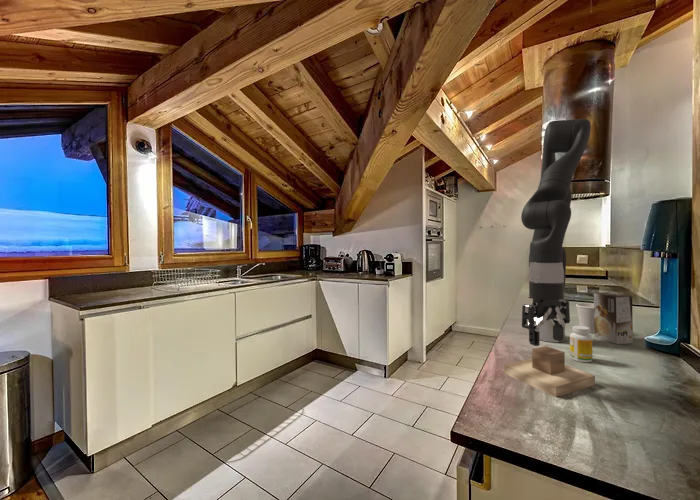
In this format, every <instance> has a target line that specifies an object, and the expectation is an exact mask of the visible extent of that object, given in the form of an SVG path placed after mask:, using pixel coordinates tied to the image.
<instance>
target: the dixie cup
mask: <svg viewBox="0 0 700 500" xmlns="http://www.w3.org/2000/svg"><path fill="white" fill-rule="evenodd" d="M575 306H576V311H577V317H578V323H579V325H578V326H585V327H588V328H589V329H590V332H589V334H595V333H594V303H589V302H588V303H587V302H580V303H579V302H578V303H576V304H575Z"/></svg>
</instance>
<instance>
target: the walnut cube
mask: <svg viewBox="0 0 700 500" xmlns="http://www.w3.org/2000/svg"><path fill="white" fill-rule="evenodd" d="M531 351H532V352H531V353H532V354H531V355H532V356H531V359H532V368H534V369H537V370H539V371H542V372H544V373H547V374H549V375H553V374H557V373H562V372H565V365H566V364H565V361H566V360H565V351H561V350H559V349H557V348H554V347H549V346H547V345H544V346H540V347H539V346H537V347H535V348H534V347H533V348H531Z"/></svg>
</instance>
